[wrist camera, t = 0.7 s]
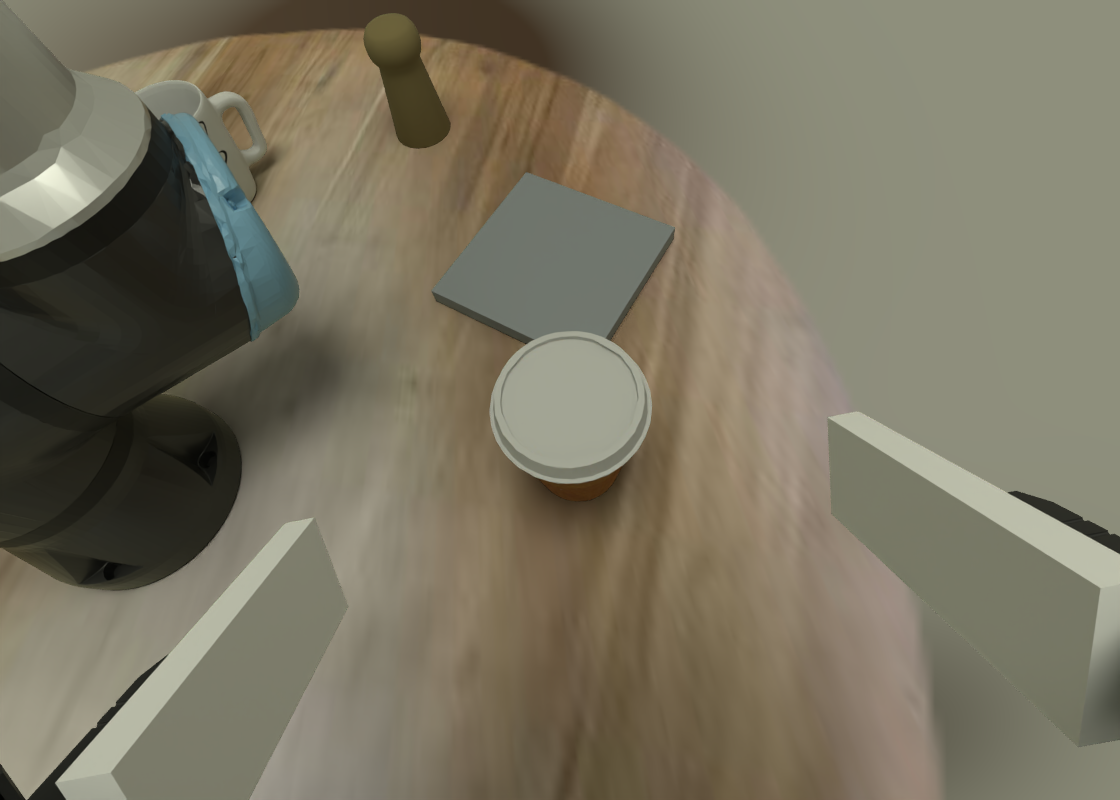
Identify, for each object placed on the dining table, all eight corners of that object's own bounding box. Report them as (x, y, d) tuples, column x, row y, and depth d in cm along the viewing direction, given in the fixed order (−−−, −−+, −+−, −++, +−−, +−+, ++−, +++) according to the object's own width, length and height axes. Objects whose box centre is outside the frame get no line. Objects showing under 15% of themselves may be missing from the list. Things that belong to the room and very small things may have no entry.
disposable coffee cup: (501, 505, 40) (462, 453, 29) (537, 394, 43) (514, 311, 32) (625, 538, 38) (633, 496, 27) (652, 419, 41) (668, 340, 31)
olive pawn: (445, 148, 56) (410, 42, 46) (391, 148, 57) (345, 44, 47) (454, 109, 59) (423, 1, 49) (403, 110, 60) (362, 3, 50)
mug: (262, 141, 59) (200, 51, 50) (305, 174, 56) (248, 84, 47) (175, 202, 56) (92, 117, 47) (216, 239, 53) (136, 157, 44)
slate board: (436, 300, 48) (431, 290, 47) (528, 184, 53) (526, 172, 52) (589, 374, 44) (588, 365, 42) (673, 239, 49) (675, 227, 47)
